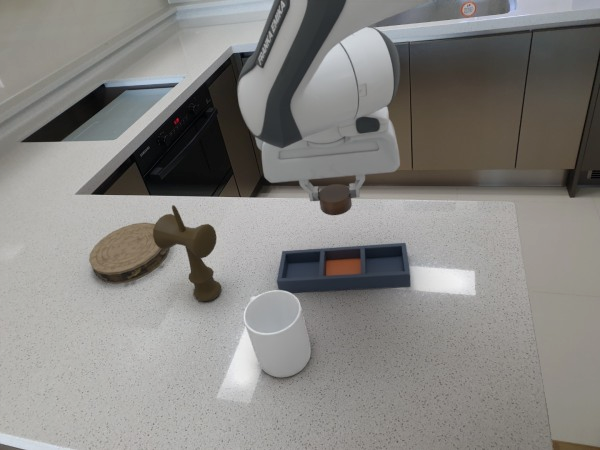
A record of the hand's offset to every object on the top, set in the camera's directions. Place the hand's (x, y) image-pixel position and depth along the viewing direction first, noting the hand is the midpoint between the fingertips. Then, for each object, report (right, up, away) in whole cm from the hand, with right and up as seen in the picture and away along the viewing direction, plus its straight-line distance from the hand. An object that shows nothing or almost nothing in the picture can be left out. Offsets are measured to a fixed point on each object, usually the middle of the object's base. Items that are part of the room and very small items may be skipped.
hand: (335, 197), depth 72 cm
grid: (+2, -13, +11) cm, 17 cm away
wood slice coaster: (-41, -11, +25) cm, 50 cm away
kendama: (-22, -17, +13) cm, 31 cm away
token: (0, -1, +1) cm, 2 cm away
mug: (-9, -24, 0) cm, 25 cm away
